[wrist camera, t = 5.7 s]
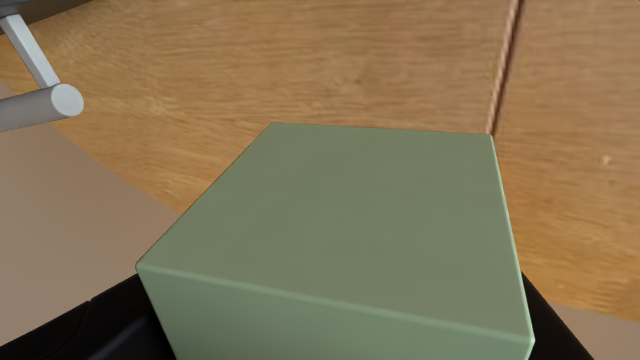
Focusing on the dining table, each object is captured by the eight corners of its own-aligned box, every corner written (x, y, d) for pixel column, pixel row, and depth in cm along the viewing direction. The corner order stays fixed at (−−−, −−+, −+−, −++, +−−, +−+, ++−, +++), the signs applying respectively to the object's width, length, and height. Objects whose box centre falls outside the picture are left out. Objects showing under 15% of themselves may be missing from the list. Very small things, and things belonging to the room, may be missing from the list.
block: (460, 296, 9) (468, 523, 6) (292, 268, 10) (211, 440, 7) (492, 133, 7) (538, 342, 3) (271, 120, 8) (130, 264, 4)
